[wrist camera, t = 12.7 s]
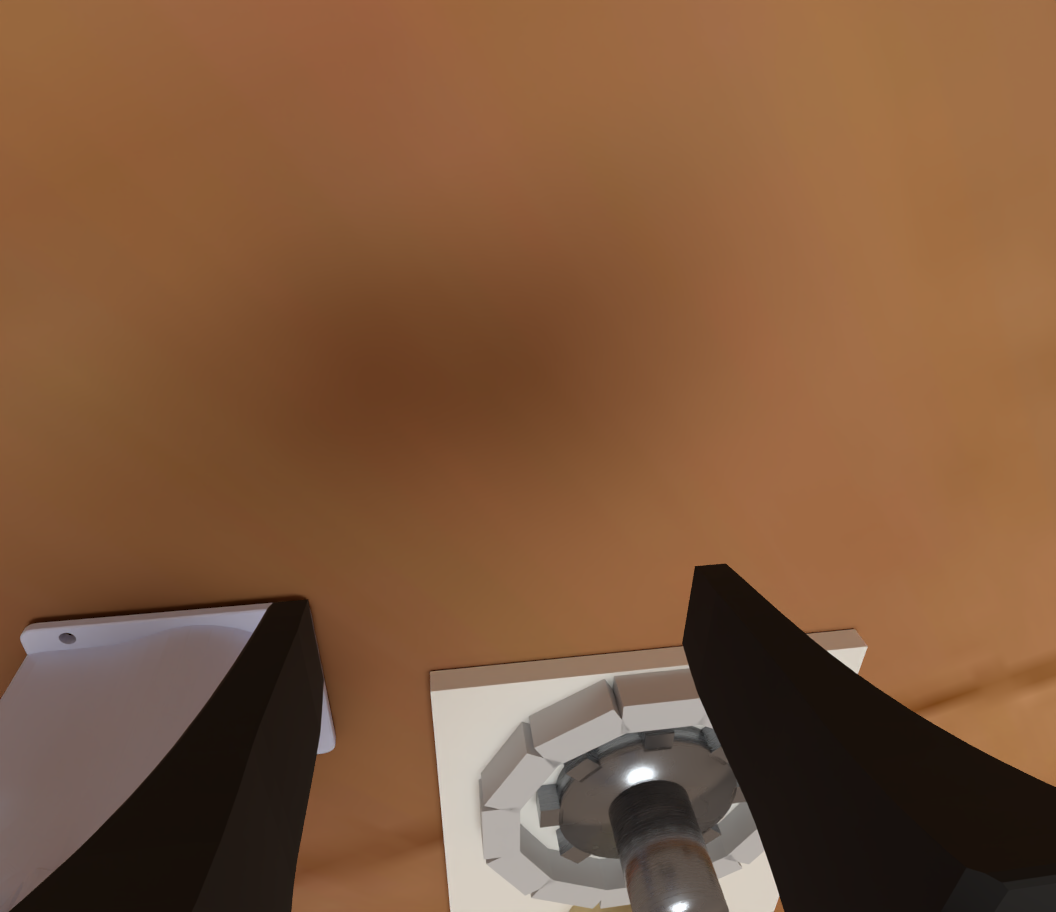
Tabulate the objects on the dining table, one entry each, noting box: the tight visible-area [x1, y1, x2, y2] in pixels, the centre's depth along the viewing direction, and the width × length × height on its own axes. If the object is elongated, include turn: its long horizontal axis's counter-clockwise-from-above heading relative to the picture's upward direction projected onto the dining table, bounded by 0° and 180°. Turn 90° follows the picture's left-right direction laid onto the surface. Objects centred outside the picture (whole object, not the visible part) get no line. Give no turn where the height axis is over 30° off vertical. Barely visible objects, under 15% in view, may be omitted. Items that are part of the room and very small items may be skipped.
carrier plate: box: [430, 629, 868, 912], centre depth 34 cm, size 18×23×4 cm
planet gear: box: [536, 726, 746, 912], centre depth 30 cm, size 10×10×6 cm
